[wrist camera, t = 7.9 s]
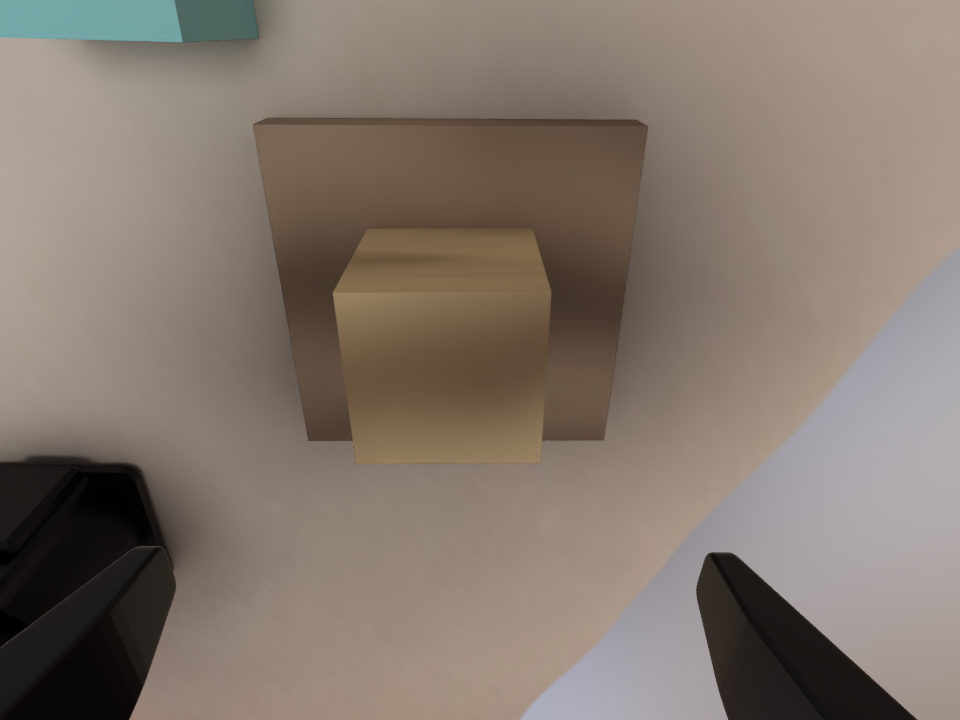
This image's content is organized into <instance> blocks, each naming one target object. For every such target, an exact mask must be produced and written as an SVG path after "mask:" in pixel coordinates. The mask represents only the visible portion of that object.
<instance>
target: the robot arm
mask: <svg viewBox="0 0 960 720" xmlns="http://www.w3.org/2000/svg"><path fill="white" fill-rule="evenodd" d="M124 478H125V479H124ZM126 479H127V480H126ZM175 589H176V580H175V576H174V574H173V569H172V566H171V564H170V561H169V558H168V555H167V552H166V549H165V546H164V543H163V540H162V537H161V534H160V531H159V528H158V525H157V523H156V520H155V517H154V514H153V511H152V508H151V505H150V502H149V499H148V496H147V493H146V490H145V487H144V485H143V482H142V479H141V476H140V474H139V472H138V471H136V470H135V469H133V468H131V467H128V466H78V465H0V720H129V719H130V717H131V714H132V712H133V710H134V708H135V705H136V703H137V701H138V698H139V696H140V694H141V691H142V689H143V686H144V684H145V681H146V678H147V675H148V673H149V670H150V667H151V664H152V661H153V658H154V655H155V652H156V649H157V646H158V643H159V640H160V637H161V634H162V631H163V628H164V625H165V622H166V619H167V616H168V613H169V610H170V607H171V604H172V601H173V598H174V594H175ZM696 591H697V593H696V594H697V601H698V605H699V610H700V614H701V618H702V622H703V627H704V630H705V635H706V639H707V644H708V648H709V652H710V656H711V660H712V665H713V669H714V674H715V677H716V682H717V685H718V689H719V693H720V696H721V699H722V702H723V705H724V708H725V711H726V714H727V717H728V720H917V719H916V718H915V717H914V716H913V715H912V714H910V713H909V712H908V711H907V710H906V709H905V708H904V707H903V706H901V704H899V703H898V702H897V701H896V700H895V699H894V698H893V697H892V696H890V695H889V694H888V693H887V692H886V691H885V690H884V689H883V688H882V687H880V685H878V684H877V683H876V682H875V681H874V680H873V679H872V678H871V677H870V676H869V675H867V674H866V673H865V672H864V671H863V670H862V669H861V668H860V667H859V666H858V665H856V664H855V663H854V662H853V661H852V660H851V659H850V658H849V657H848V656H846V655H845V654H844V653H843V652H842V651H841V650H840V649H839V648H838V647H837V646H836V645H834V644H833V643H832V642H831V641H830V640H829V639H828V638H827V637H826V636H825V635H823V634H822V633H821V632H820V631H819V630H818V629H817V628H816V627H814V626H813V625H812V624H811V623H810V622H809V621H808V620H807V619H806V618H805V617H804V616H802V615H801V614H800V613H799V612H798V611H797V610H796V609H795V608H794V607H793V606H791V605H790V604H789V603H788V602H787V601H786V600H785V599H784V598H782V596H780V595H779V594H778V593H777V592H776V591H775V590H773V588H772V587H771V586H769V585H768V584H767V583H766V582H765V581H764V580H763V579H762V578H761V577H759V576H758V575H757V574H756V573H755V572H754V571H753V570H752V569H751V568H750V567H748V566H747V565H746V564H745V563H744V562H743V561H742V560H741V559H740V558H739V557H737V556H736V555H734V554H732V553H721V552H712V553H709V554H707V556H706V557H705V560H704V563H703V566H702V570H701V573H700V576H699V579H698V583H697V589H696Z"/></svg>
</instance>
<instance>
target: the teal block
mask: <svg viewBox="0 0 960 720" xmlns="http://www.w3.org/2000/svg"><path fill="white" fill-rule="evenodd" d="M0 37H6V38H43V39H80V40H118V41H155V42H197V41H216V40H235V39H254V38H259V36H258V29H257V22H256V15H255V8H254V1H253V0H0Z"/></svg>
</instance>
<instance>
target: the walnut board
mask: <svg viewBox="0 0 960 720" xmlns="http://www.w3.org/2000/svg"><path fill="white" fill-rule="evenodd" d="M253 128H254V134H255V140H256V145H257V151H258V157H259V162H260V168H261V174H262V179H263V185H264V191H265V196H266V202H267V208H268V213H269V219H270V225H271V230H272V236H273V242H274V247H275V253H276V259H277V265H278V270H279V276H280V282H281V287H282V293H283V299H284V304H285V310H286V316H287V321H288V327H289V333H290V338H291V344H292V350H293V355H294V361H295V367H296V372H297V378H298V384H299V389H300V395H301V401H302V406H303V412H304V418H305V424H306V429H307V435H308V441H353V439H352V432H351V424H350V417H349V409H348V402H347V395H346V387H345V380H344V372H343V365H342V357H341V350H340V343H339V335H338V328H337V320H336V313H335V306H334V298H333V291H334V290H335V288H336V286H337V284H338V282H339V280H340V278H341V277H342V275H343V273H344V271H345V269H346V267H347V266H348V264H349V262H350V260H351V258H352V256H353V254H354V253H355V251H356V249H357V247H358V245H359V243H360V242H361V240H362V238H363V236H364V234H365V232H366V230H367V229H373V228H533V231H534V235H535V238H536V242H537V245H538V248H539V252H540V255H541V258H542V262H543V265H544V269H545V272H546V275H547V279H548V282H549V285H550V289H551V306H550V322H549V338H548V353H547V369H546V385H545V401H544V417H543V433H542V440H604V436H605V429H606V422H607V415H608V407H609V400H610V393H611V386H612V379H613V372H614V365H615V358H616V351H617V343H618V336H619V329H620V322H621V315H622V308H623V301H624V294H625V286H626V279H627V272H628V265H629V258H630V251H631V244H632V237H633V230H634V222H635V215H636V208H637V201H638V194H639V187H640V180H641V173H642V166H643V158H644V151H645V144H646V137H647V130H648V126H646V125H645V124H643V123H641V122H640V121H638V120H585V119H393V118H266V119H264V120H262V121H259V122H257V123H255V124H253Z"/></svg>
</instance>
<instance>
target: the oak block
mask: <svg viewBox="0 0 960 720" xmlns="http://www.w3.org/2000/svg"><path fill="white" fill-rule="evenodd" d="M333 298H334V306H335V313H336V320H337V328H338V335H339V343H340V350H341V357H342V365H343V372H344V380H345V387H346V395H347V402H348V409H349V417H350V424H351V432H352V439H353V446H354V454H355V461H356V464H472V463H541V449H542V433H543V417H544V401H545V385H546V369H547V353H548V338H549V322H550V306H551V289H550V285H549V282H548V279H547V275H546V272H545V269H544V265H543V262H542V258H541V255H540V252H539V248H538V245H537V242H536V238H535V235H534V231H533V228H373V229H367V230H366V232H365V234H364V236H363V238H362V240H361V242H360V243H359V245H358V247H357V249H356V251H355V253H354V254H353V256H352V258H351V260H350V262H349V264H348V266H347V267H346V269H345V271H344V273H343V275H342V277H341V278H340V280H339V282H338V284H337V286H336V288H335V290H334V291H333Z"/></svg>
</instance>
